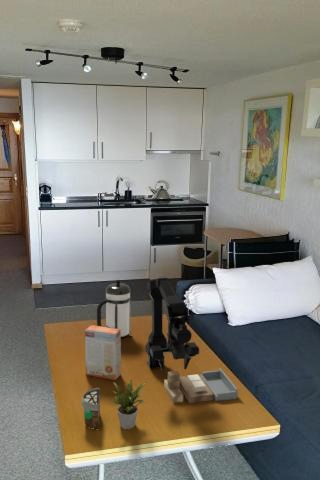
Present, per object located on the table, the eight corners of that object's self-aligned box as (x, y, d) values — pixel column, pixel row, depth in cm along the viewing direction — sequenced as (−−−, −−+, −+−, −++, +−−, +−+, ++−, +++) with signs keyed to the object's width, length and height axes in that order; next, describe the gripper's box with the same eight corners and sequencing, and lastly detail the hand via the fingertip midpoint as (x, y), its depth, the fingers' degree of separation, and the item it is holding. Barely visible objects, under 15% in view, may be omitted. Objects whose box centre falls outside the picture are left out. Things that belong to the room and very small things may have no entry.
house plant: (154, 436, 154) (155, 391, 151) (114, 442, 150) (114, 397, 147) (143, 412, 168) (144, 371, 165) (106, 418, 164) (106, 376, 161)
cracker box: (121, 374, 196) (121, 328, 192) (115, 381, 190) (115, 334, 186) (91, 369, 200) (91, 324, 196) (85, 375, 194) (84, 329, 190)
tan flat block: (189, 403, 175) (189, 397, 174) (177, 382, 190) (177, 377, 190) (213, 400, 177) (213, 394, 177) (199, 380, 193) (200, 374, 192)
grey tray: (215, 401, 177) (216, 391, 176) (200, 378, 194) (200, 370, 193) (237, 398, 179) (237, 389, 178) (219, 376, 196) (220, 367, 195)
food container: (83, 412, 167) (82, 387, 165) (100, 411, 168) (99, 386, 166) (80, 432, 155) (79, 406, 153) (98, 432, 156) (98, 405, 154)
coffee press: (105, 329, 244) (105, 274, 239) (134, 331, 242) (135, 276, 237) (96, 342, 228) (96, 284, 222) (128, 344, 226) (128, 286, 220)
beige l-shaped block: (172, 403, 175) (173, 381, 173) (164, 386, 187) (164, 366, 185) (182, 402, 176) (183, 380, 174) (173, 385, 188) (173, 365, 186)
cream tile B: (190, 385, 183) (190, 380, 183) (187, 379, 187) (187, 375, 187) (201, 384, 184) (201, 379, 184) (197, 378, 188) (197, 374, 188)
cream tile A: (194, 391, 178) (194, 387, 178) (191, 386, 182) (191, 381, 182) (205, 390, 179) (205, 386, 179) (201, 385, 184) (201, 380, 183)
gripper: (156, 343, 166) (155, 383, 170) (205, 339, 171) (203, 377, 174) (149, 331, 177) (149, 369, 180) (195, 328, 182) (193, 364, 185)
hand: (173, 370), depth 180 cm, fingers open, 9 cm apart
